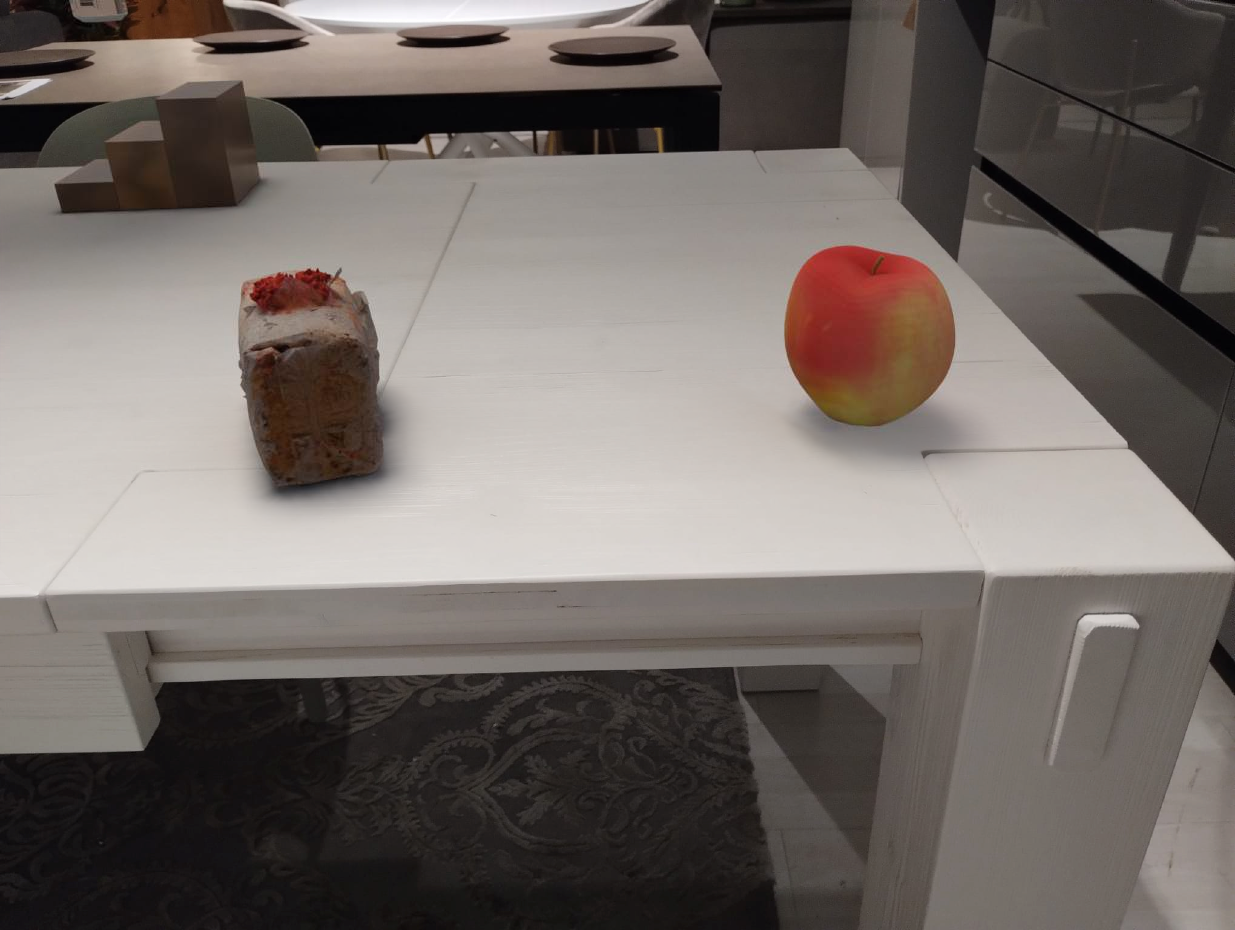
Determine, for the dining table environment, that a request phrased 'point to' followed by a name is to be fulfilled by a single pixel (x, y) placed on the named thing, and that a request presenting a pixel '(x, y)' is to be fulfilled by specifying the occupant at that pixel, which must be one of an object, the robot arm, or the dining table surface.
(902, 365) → the apple
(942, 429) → the dining table surface
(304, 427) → the food item
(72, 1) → the beer can
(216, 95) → the step shelf
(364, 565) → the dining table surface
